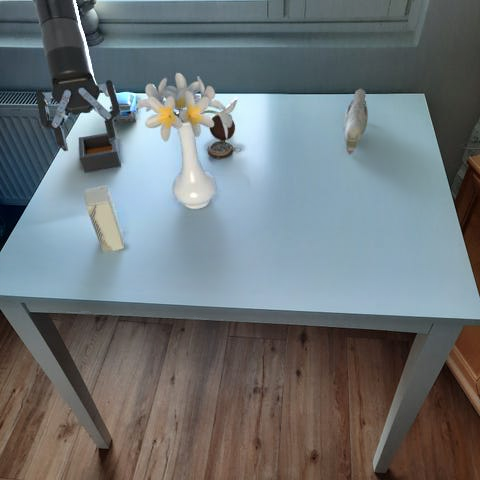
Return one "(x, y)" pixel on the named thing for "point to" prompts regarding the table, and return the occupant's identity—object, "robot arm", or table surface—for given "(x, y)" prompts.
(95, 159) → the holder
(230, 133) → the compass
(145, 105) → the flower vase
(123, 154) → the table surface
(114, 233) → the box
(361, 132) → the decorative bird
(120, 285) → the table surface
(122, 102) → the toy car
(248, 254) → the table surface
